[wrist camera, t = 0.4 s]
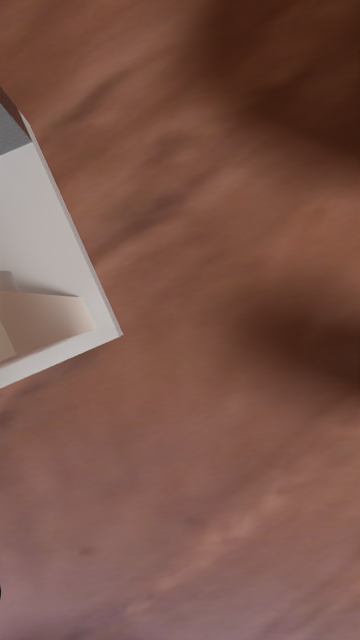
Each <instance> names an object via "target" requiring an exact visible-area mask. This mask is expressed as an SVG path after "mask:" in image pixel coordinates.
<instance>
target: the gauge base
mask: <svg viewBox="0 0 360 640" xmlns="http://www.w3.org/2000/svg"><path fill="white" fill-rule="evenodd" d="M19 113H20V111H19ZM20 115H21V117H22V119H23V122H24V124H25V126H26V128H27V131H28V133H29V135H30V137H31V139H32V142H31V143H29V144H26V145H24V146H22V147H19V148H17V149H15V150H12V151H10V152H8V153H5V154H3V155H0V271H10V272H11V273H12V275H13V277H14V279H15V282H16V284H17V286H18V288H19V290H20V292H22V293H34V294H46V295H58V296H69V297H81V298H83V300H84V303H85V305H86V307H87V309H88V312H89V314H90V316H91V318H92V320H93V323H94V325H95V327H96V329H94V330H92V331H89V332H87V333H85V334H82V335H80V336H78V337H76V338H73V339H71V340H69V341H66V342H64V343H62V344H59V345H57V346H55V347H53V348H50V349H48V350H46V351H43V352H41V353H39V354H36V355H34V356H32V357H29V358H27V359H25V360H23V361H20V362H18V363H16V364H13V365H11V366H9V367H6V368H4V369H2V370H0V388H2V387H5V386H7V385H9V384H12V383H14V382H16V381H18V380H21V379H23V378H25V377H28V376H30V375H32V374H35V373H37V372H39V371H41V370H44V369H46V368H48V367H51V366H53V365H55V364H58V363H60V362H62V361H64V360H67V359H69V358H71V357H74V356H76V355H78V354H81V353H83V352H85V351H87V350H90V349H92V348H94V347H97V346H99V345H101V344H104V343H106V342H108V341H111V340H113V339H115V338H117V337H120V336H121V335H123V333H122V331H121V329H120V326H119V324H118V322H117V320H116V317H115V315H114V313H113V311H112V308H111V306H110V304H109V302H108V299H107V297H106V295H105V293H104V290H103V288H102V286H101V284H100V281H99V279H98V277H97V275H96V272H95V270H94V268H93V266H92V263H91V261H90V259H89V257H88V255H87V252H86V250H85V248H84V246H83V243H82V241H81V239H80V237H79V234H78V232H77V230H76V228H75V225H74V223H73V221H72V219H71V216H70V214H69V212H68V210H67V207H66V205H65V203H64V201H63V198H62V196H61V194H60V192H59V189H58V187H57V185H56V183H55V181H54V178H53V176H52V174H51V172H50V169H49V167H48V165H47V163H46V160H45V158H44V156H43V154H42V151H41V149H40V147H39V145H38V142H37V140H36V138H35V136H34V133H33V131H32V129H31V127H30V124H29V123H28V122H27V120H26V119H25V118H24V116H23V115H22V114H21V113H20Z"/></svg>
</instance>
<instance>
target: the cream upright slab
mask: <svg viewBox="0 0 360 640" xmlns="http://www.w3.org/2000/svg"><path fill="white" fill-rule="evenodd" d="M94 329H96V327H95V325H94V323H93V320H92V318H91V316H90V314H89V312H88V309H87V307H86V305H85V303H84V300H83V298H81V297H69V296H58V295H46V294H34V293H22V292H20V290H19V288H18V286H17V284H16V282H15V279H14V277H13V275H12V273H11V272H10V271H0V370H2V369H4V368H6V367H9V366H11V365H13V364H16V363H18V362H20V361H23V360H25V359H27V358H29V357H32V356H34V355H36V354H39V353H41V352H43V351H46V350H48V349H50V348H53V347H55V346H57V345H59V344H62V343H64V342H66V341H69V340H71V339H73V338H76V337H78V336H80V335H82V334H85V333H87V332H89V331H92V330H94Z"/></svg>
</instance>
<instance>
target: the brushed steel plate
mask: <svg viewBox="0 0 360 640" xmlns="http://www.w3.org/2000/svg"><path fill="white" fill-rule="evenodd" d="M31 142H32V139H31V137H30V135H29V133H28V131H27V128H26V126H25V124H24V122H23V119H22V117H21V115H20V113H19V110H18V109H17V107H16V106H15V105H14V103H13V102H12V101H11V100H10V98H9V97H8V96H7V94H6V93H5V92H4V91H3V89H2V88H1V87H0V155H3V154H5V153H8V152H10V151H12V150H15V149H17V148H19V147H22V146H24V145H26V144H29V143H31Z"/></svg>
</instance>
